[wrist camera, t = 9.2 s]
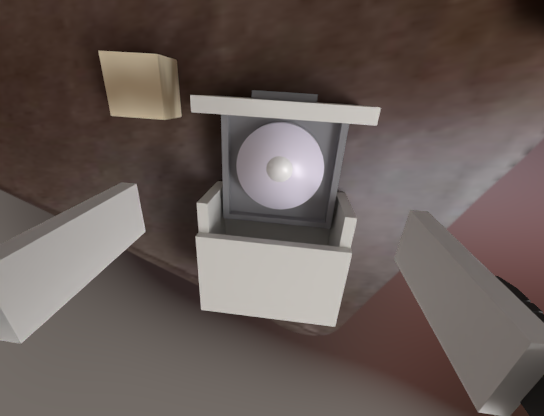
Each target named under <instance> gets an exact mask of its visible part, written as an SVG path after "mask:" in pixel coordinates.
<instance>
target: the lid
mask: <svg viewBox="0 0 544 416" xmlns="http://www.w3.org/2000/svg"><path fill="white" fill-rule="evenodd" d="M236 168H237V175H238V179H239V182H240V184H241V186H242V188H243V189H244V191H245V192H246V193H247V194H248V196H250V197H251V198H252V199H253V200H254V201H256V202H257V203H259V204H261V205H263V206H265V207H268V208H272V209H289V208H293V207H296V206H299V205H301V204H303V203H304V202H306V201H307V200H309V199H310V198H311V197H312V196H313V195H314V194H315V192H316V191H317V190H318V188H319V186H320V184H321V181H322V179H323V174H324V160H323V155H322V152H321V150H320V147H319V145H318V143H317V141H316V140H315V138H314V137H313V136H312V135H311V134H310V133H309V132H308V131H307V130H306V129H304V128H302V127H301V126H299V125H296V124H293V123H290V122H272V123H269V124H266V125H263V126H261V127H260V128H258V129H257V130H255V131H254V132H253V133H252V134H250V135H249V136H248V137H247V138H246V140H245V141H244V142H243V144H242V146H241V148H240V150H239V153H238V156H237V164H236Z"/></svg>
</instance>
